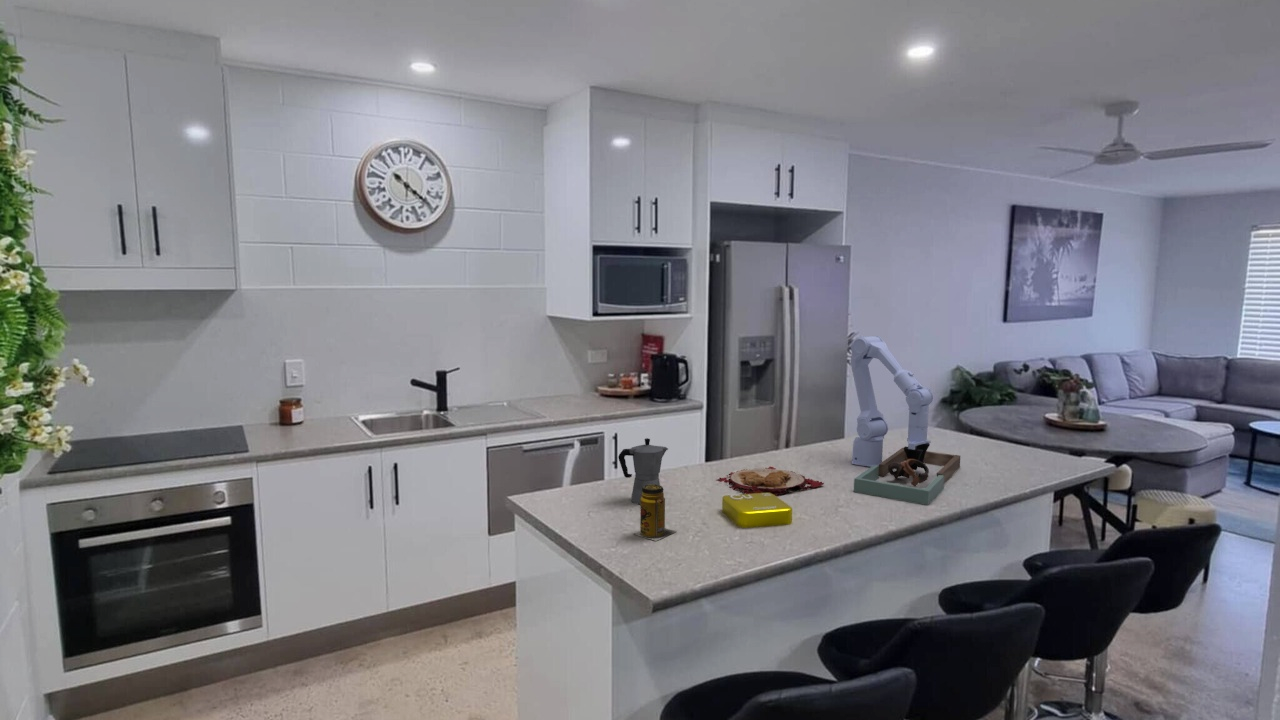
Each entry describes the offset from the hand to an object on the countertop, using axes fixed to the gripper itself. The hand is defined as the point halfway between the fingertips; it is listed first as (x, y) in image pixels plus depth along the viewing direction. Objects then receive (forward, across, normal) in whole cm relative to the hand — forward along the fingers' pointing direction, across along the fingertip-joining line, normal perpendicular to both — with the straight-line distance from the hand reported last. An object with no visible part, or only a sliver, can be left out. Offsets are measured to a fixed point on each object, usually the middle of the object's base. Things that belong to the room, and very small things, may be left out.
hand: (915, 467), depth 222 cm
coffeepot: (+3, -73, +56) cm, 92 cm away
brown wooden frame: (+3, +6, 0) cm, 6 cm away
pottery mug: (+3, -9, 0) cm, 9 cm away
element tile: (+3, -66, +25) cm, 71 cm away
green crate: (+3, -18, 0) cm, 19 cm away
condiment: (+3, -92, +39) cm, 100 cm away
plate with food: (+4, -36, +36) cm, 51 cm away
